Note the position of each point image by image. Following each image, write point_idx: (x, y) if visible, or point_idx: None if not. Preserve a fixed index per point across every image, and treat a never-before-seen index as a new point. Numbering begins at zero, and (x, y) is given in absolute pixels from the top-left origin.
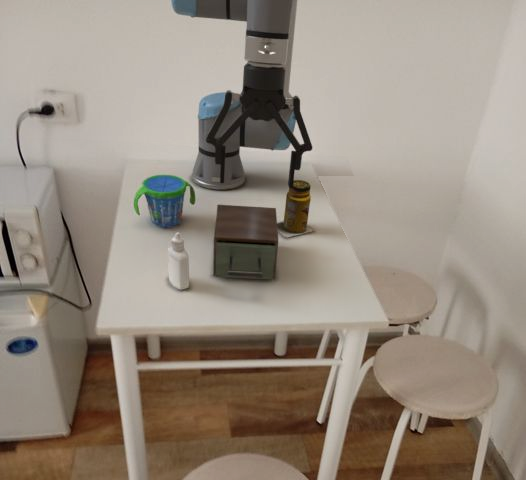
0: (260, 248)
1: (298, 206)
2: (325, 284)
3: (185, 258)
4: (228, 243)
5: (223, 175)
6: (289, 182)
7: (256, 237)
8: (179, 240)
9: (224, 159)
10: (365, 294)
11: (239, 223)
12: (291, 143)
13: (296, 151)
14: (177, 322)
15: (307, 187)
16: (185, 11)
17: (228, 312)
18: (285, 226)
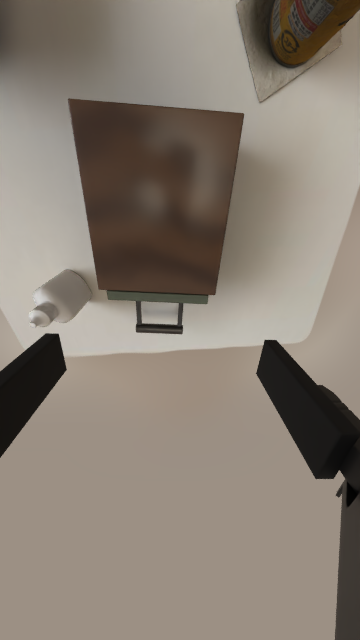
0: (182, 302)
1: (335, 14)
2: (273, 279)
3: (69, 320)
4: (127, 293)
5: (52, 386)
6: (262, 380)
7: (176, 286)
8: (44, 325)
9: (17, 432)
10: (316, 299)
11: (141, 229)
12: (343, 541)
13: (343, 490)
14: (96, 350)
15: None
16: None
17: (145, 335)
18: (273, 36)
